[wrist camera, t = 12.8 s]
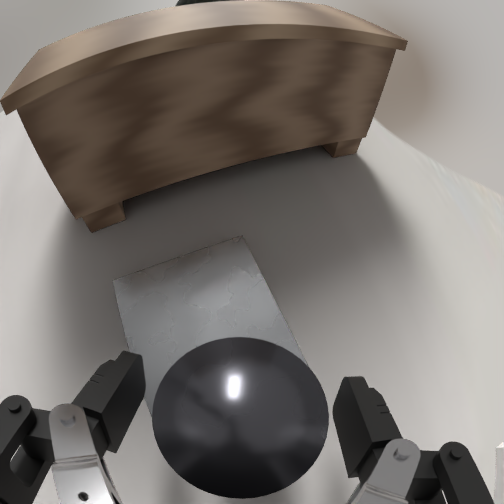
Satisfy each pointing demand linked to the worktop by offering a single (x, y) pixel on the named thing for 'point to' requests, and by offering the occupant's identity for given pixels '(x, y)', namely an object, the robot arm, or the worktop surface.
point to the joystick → (223, 372)
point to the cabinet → (196, 95)
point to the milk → (499, 475)
